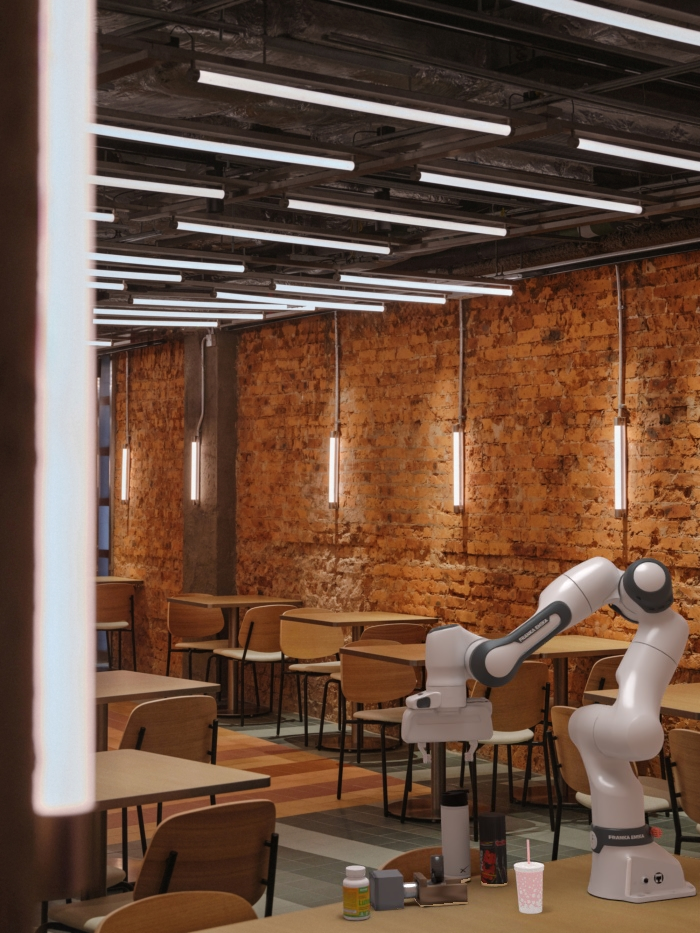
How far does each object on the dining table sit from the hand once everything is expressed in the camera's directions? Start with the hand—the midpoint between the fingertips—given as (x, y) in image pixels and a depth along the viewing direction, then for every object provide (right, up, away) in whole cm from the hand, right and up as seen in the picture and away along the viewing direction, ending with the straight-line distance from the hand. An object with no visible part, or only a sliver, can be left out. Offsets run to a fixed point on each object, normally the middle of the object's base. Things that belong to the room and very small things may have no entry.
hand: (448, 762), depth 266 cm
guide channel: (-3, -26, -13) cm, 29 cm away
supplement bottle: (-20, -26, -23) cm, 40 cm away
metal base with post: (-9, -25, -14) cm, 30 cm away
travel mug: (+2, -28, +5) cm, 28 cm away
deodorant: (+10, -27, +1) cm, 29 cm away
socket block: (-14, -26, -15) cm, 33 cm away
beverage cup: (+15, -25, -22) cm, 36 cm away
